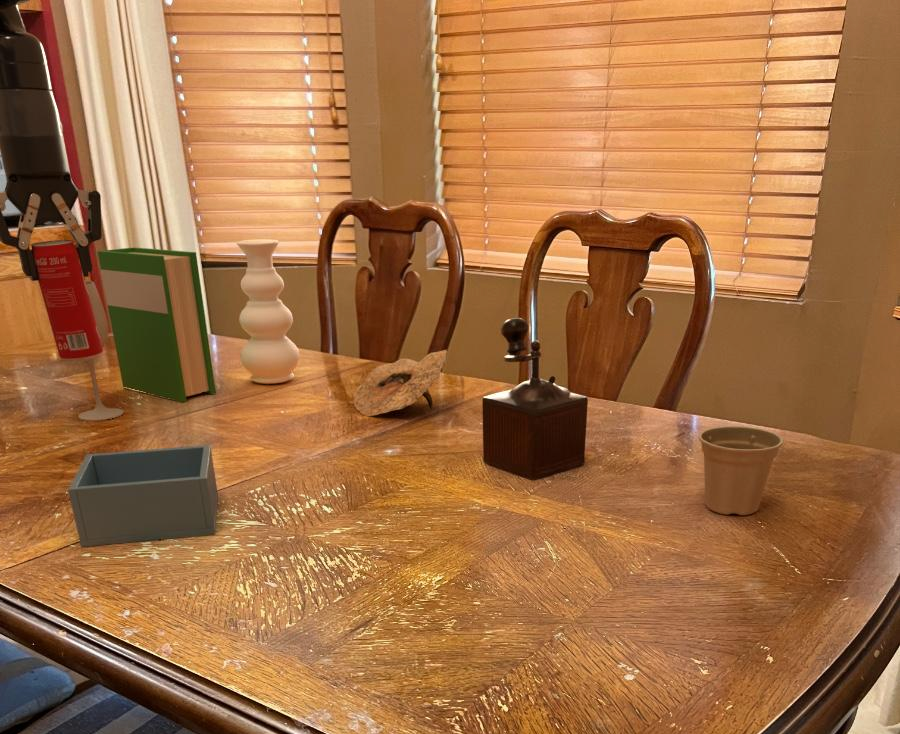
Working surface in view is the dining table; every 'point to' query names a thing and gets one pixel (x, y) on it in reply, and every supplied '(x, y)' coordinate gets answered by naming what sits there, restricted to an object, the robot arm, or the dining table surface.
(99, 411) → the wineglass
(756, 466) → the flower pot
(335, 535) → the dining table surface
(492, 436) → the manual coffee grinder
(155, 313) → the hardback book
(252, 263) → the vase
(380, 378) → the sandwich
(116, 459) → the open box
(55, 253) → the beverage can
